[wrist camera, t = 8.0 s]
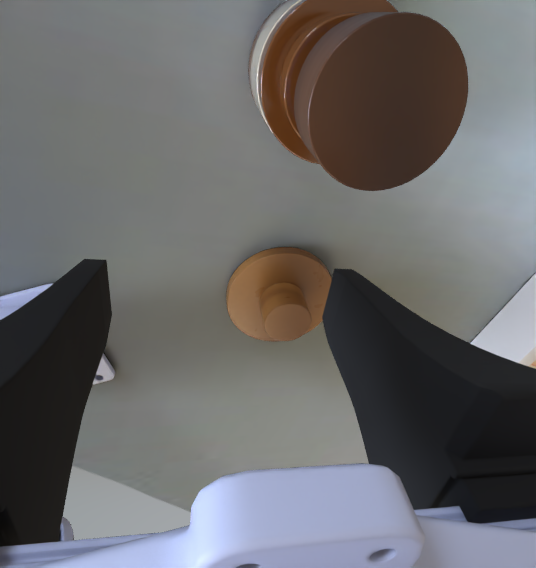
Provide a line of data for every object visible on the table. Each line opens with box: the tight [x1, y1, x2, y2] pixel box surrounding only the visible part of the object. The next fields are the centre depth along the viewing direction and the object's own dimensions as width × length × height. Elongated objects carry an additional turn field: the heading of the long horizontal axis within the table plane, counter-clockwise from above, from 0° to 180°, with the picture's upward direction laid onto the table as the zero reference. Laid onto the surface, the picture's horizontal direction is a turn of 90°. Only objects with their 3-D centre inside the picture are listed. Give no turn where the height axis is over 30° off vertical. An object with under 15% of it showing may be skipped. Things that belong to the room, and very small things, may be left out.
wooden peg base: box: [226, 247, 332, 341], centre depth 24 cm, size 7×7×3 cm
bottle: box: [248, 0, 398, 164], centre depth 16 cm, size 6×6×7 cm
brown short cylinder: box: [294, 12, 468, 191], centre depth 12 cm, size 5×5×2 cm
